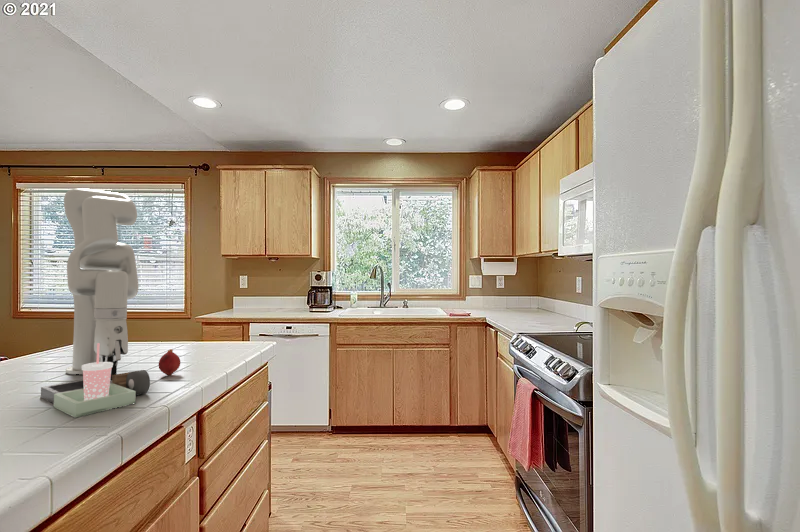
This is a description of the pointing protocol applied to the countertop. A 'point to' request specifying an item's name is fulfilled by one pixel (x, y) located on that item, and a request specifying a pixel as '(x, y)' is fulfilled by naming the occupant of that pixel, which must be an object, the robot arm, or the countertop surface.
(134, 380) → the caster wheel
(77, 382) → the socket ring
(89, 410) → the tray
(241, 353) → the countertop surface
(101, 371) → the beverage cup
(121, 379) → the block
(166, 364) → the onion
